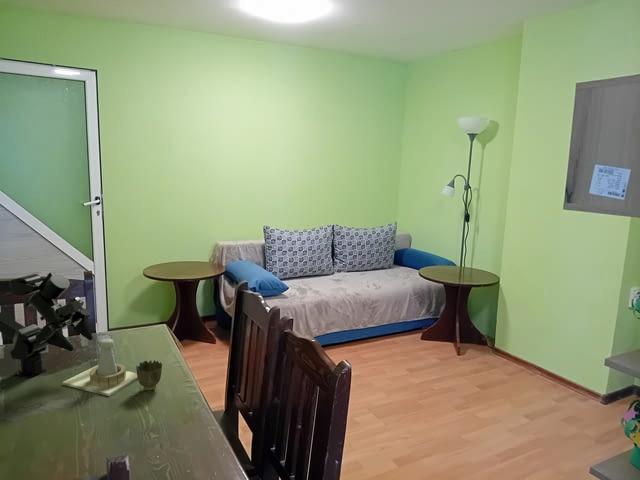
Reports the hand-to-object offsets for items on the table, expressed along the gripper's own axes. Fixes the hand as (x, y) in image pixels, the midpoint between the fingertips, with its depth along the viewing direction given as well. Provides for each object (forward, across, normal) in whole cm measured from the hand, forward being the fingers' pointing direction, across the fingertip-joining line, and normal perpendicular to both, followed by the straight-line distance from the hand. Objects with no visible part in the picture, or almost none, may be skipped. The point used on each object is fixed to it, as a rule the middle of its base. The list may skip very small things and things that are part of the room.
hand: (82, 344), depth 144 cm
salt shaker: (+13, 0, +2) cm, 14 cm away
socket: (+13, +1, +4) cm, 13 cm away
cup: (+25, -2, -8) cm, 26 cm away
